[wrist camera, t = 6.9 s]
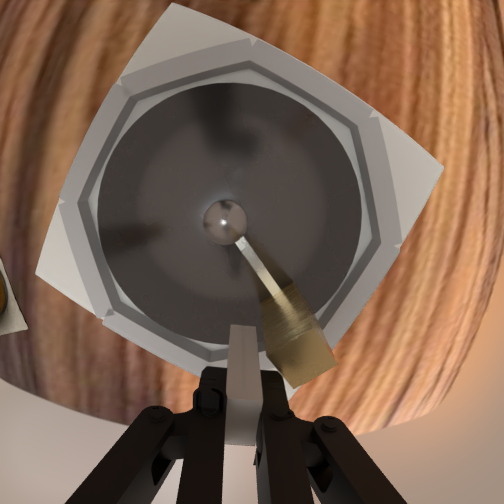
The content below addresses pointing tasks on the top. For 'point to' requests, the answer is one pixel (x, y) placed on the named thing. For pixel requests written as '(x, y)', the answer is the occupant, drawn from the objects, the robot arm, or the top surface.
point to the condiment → (9, 307)
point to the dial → (233, 220)
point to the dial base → (248, 72)
